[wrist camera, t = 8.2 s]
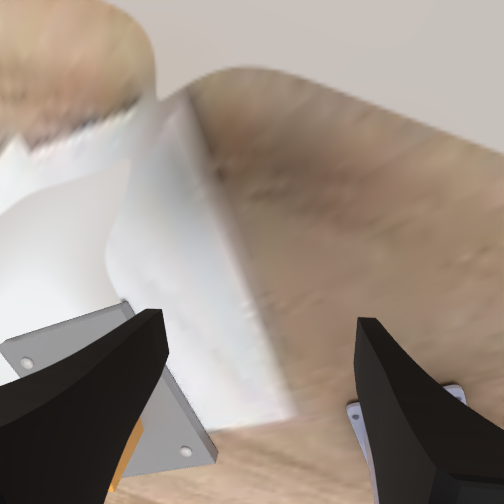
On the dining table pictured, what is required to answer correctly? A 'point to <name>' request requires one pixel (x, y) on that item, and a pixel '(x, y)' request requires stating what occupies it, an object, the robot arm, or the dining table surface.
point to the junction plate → (156, 410)
